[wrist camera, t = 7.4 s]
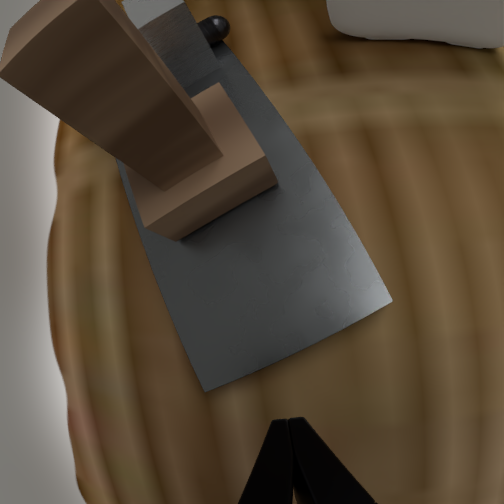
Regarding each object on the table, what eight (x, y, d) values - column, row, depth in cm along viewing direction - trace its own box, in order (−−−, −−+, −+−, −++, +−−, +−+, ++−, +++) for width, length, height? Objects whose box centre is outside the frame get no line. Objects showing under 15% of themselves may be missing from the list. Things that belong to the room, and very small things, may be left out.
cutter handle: (278, 182, 16) (158, -38, 4) (175, 242, 16) (-41, 141, 5) (200, 58, 19) (108, -80, 7) (126, 106, 19) (7, -2, 8)
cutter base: (404, 291, 15) (456, 276, 8) (200, 392, 17) (118, 432, 9) (228, 32, 21) (192, -38, 14) (101, 113, 23) (41, 65, 15)
